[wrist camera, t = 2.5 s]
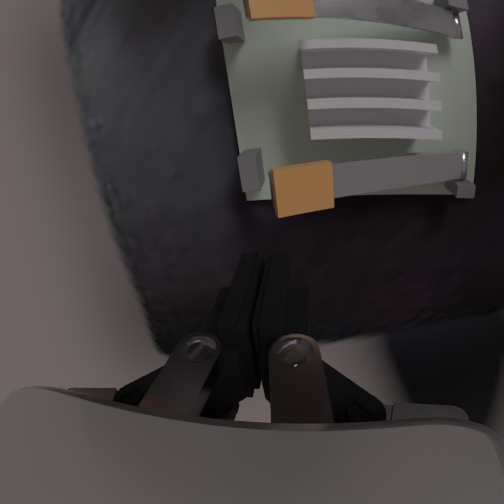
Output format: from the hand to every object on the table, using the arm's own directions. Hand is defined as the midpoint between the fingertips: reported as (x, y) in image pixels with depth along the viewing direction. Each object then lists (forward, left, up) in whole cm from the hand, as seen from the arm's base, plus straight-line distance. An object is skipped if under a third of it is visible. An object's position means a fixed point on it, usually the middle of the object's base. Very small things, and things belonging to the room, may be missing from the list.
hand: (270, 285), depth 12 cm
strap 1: (-7, -13, -14) cm, 21 cm away
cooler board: (-7, -7, -19) cm, 21 cm away
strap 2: (-7, 0, -14) cm, 16 cm away
